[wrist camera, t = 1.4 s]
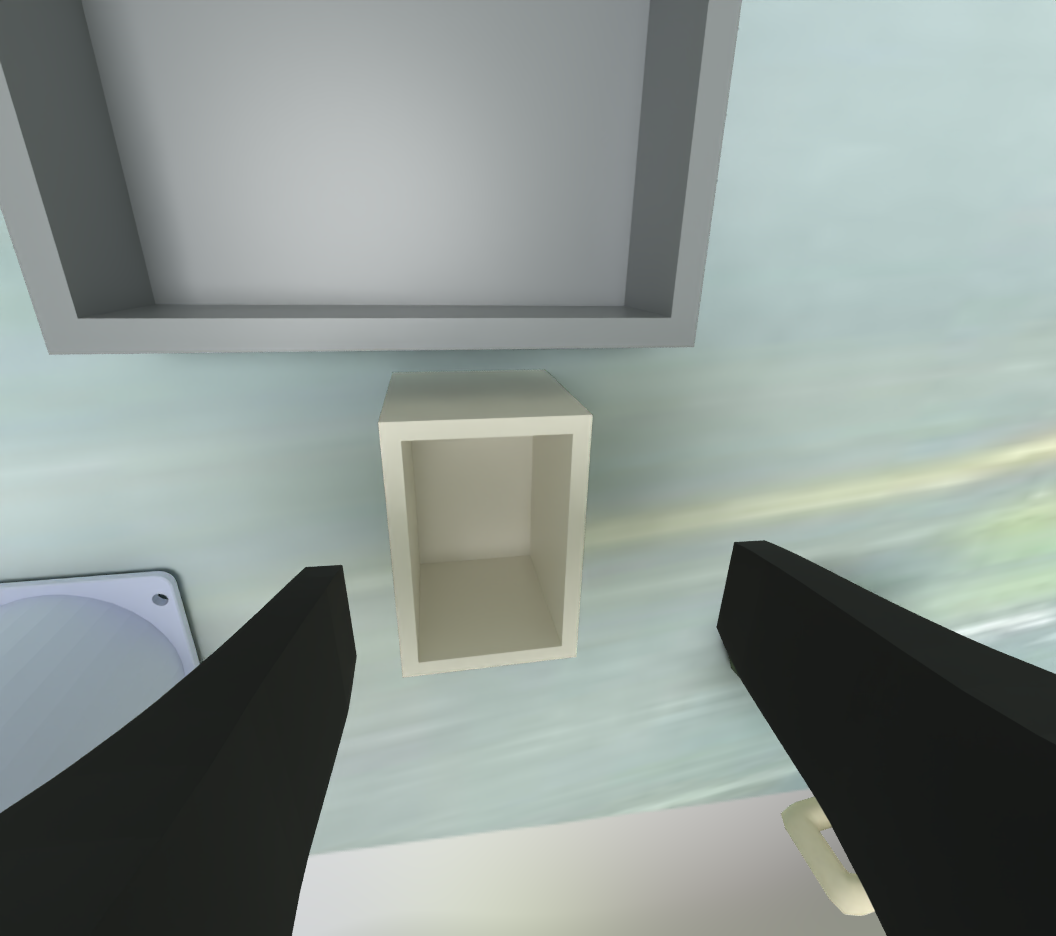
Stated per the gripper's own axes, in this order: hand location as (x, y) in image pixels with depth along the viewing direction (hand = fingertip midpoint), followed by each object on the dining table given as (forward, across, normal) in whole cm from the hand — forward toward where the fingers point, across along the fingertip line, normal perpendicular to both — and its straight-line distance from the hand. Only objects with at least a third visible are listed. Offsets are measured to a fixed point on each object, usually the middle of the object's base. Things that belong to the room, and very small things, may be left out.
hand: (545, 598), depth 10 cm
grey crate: (+11, +3, -10) cm, 15 cm away
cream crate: (+11, +1, +2) cm, 11 cm away
